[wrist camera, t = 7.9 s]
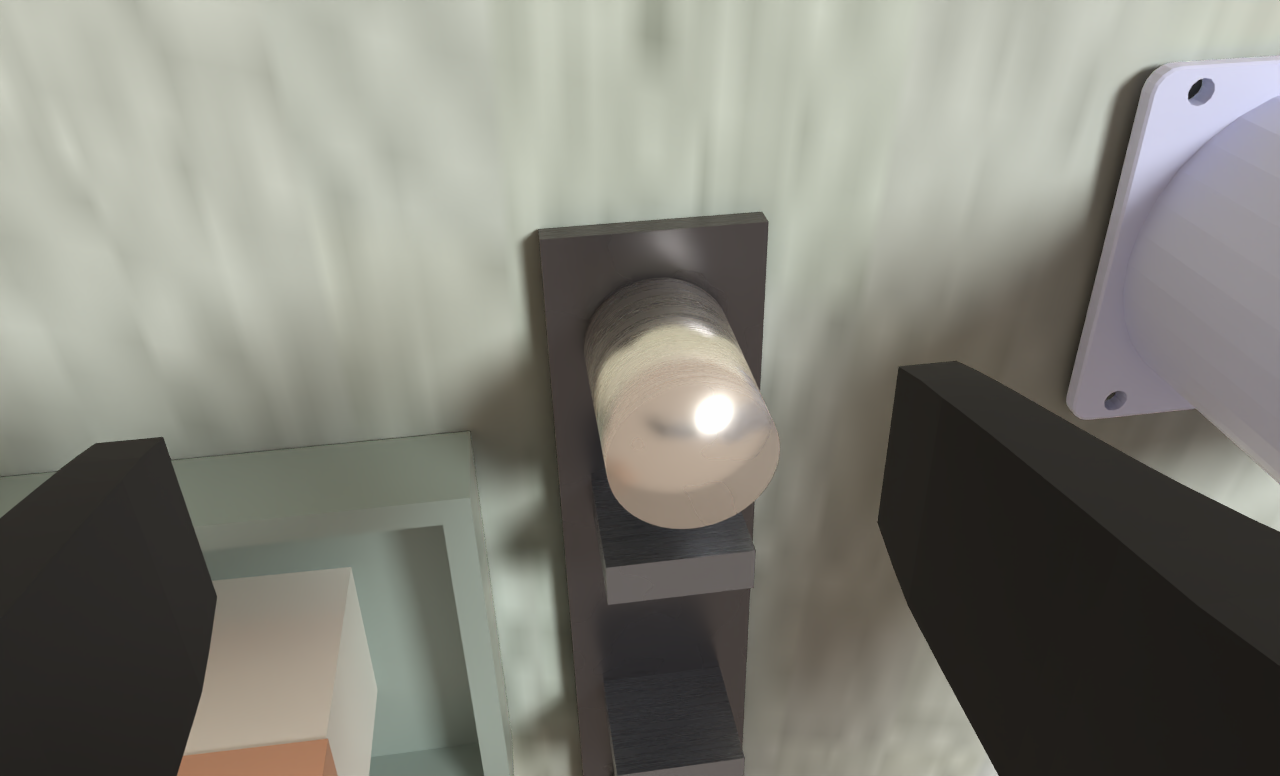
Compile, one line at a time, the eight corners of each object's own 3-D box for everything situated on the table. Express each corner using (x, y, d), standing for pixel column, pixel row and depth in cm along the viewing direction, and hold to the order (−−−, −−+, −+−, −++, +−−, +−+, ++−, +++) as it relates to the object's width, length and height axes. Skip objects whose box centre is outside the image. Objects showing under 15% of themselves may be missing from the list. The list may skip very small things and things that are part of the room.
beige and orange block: (352, 564, 22) (318, 800, 17) (379, 691, 24) (356, 932, 19) (160, 584, 22) (67, 831, 17) (205, 710, 24) (134, 964, 19)
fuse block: (762, 211, 20) (831, 320, 16) (734, 809, 30) (772, 961, 26) (538, 228, 19) (554, 344, 15) (587, 830, 29) (604, 988, 26)
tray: (469, 431, 21) (470, 497, 20) (512, 737, 27) (515, 813, 25) (-26, 480, 20) (-79, 555, 18) (121, 789, 26) (92, 873, 24)
